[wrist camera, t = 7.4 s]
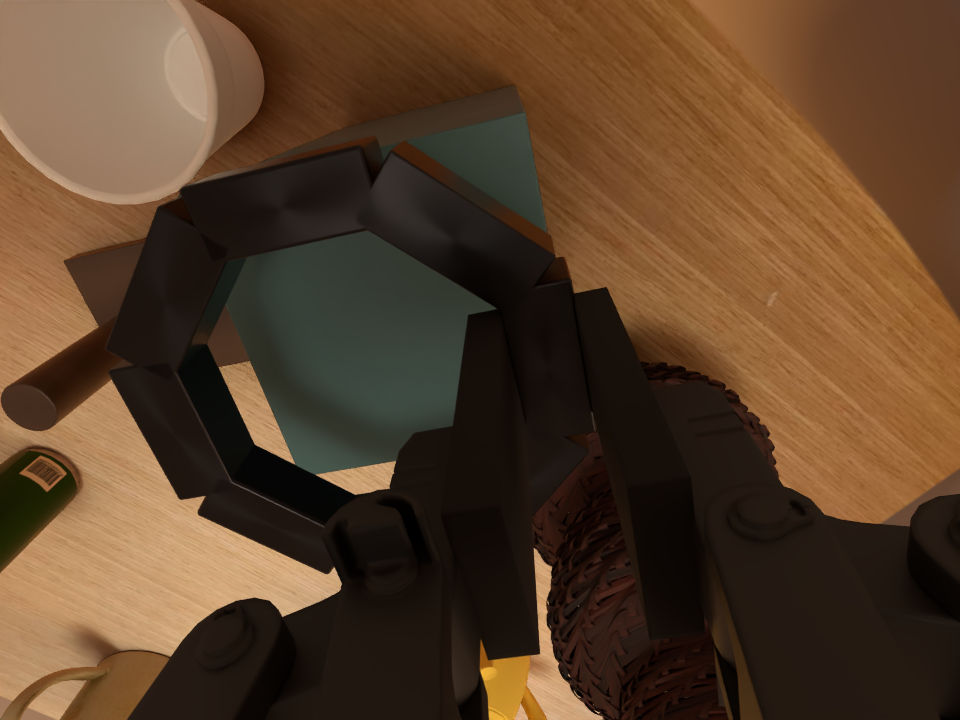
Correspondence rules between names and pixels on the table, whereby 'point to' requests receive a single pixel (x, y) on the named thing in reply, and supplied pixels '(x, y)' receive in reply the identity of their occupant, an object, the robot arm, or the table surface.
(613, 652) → the vase
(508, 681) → the teapot
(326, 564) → the ring
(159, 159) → the cup
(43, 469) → the beer can
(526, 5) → the table surface
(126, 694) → the lidded mug
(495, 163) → the stand
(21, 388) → the holder
